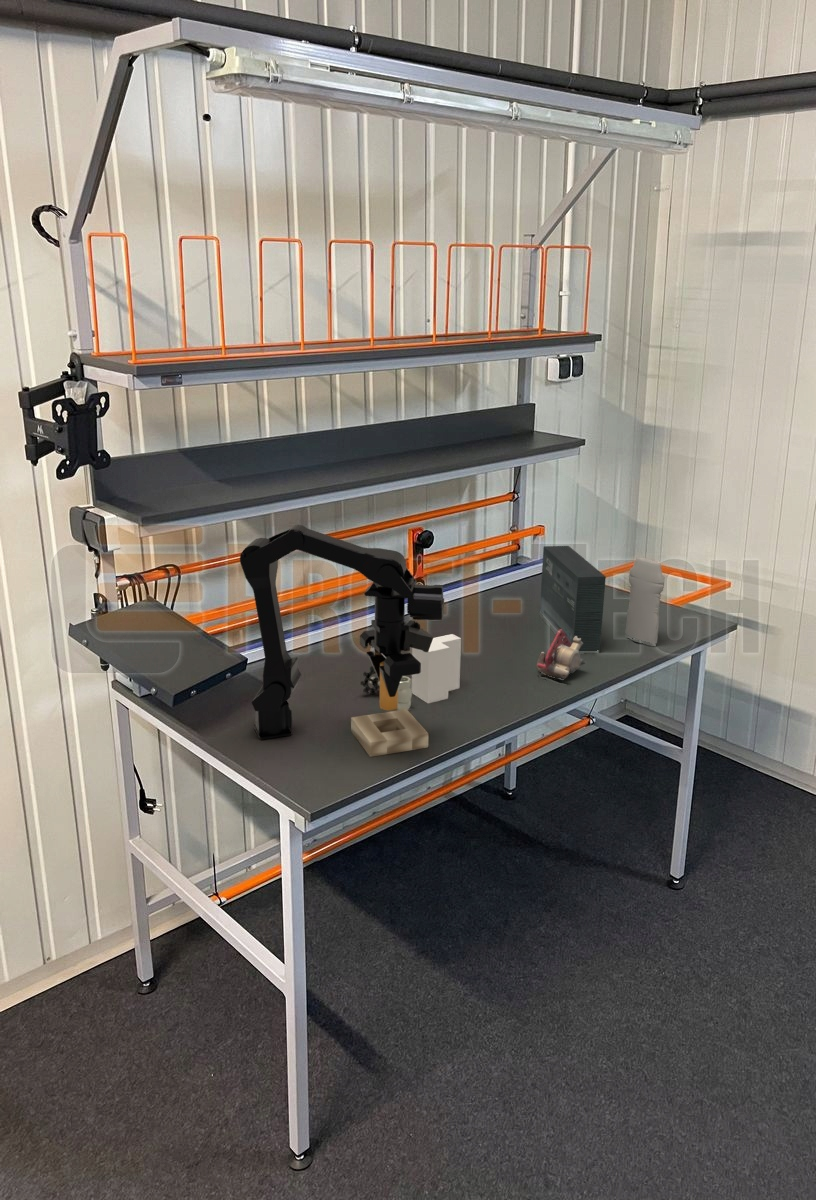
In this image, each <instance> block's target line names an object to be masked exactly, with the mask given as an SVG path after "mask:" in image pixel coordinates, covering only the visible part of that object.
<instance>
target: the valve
mask: <svg viewBox="0 0 816 1200" xmlns="http://www.w3.org/2000/svg"><path fill="white" fill-rule="evenodd" d="M374 674H375V675H376V673H375V670H374V668H373V666H372V665H371V666H370V667H369V672H368V671H364V672H363V674H362V676H363V677H365V678H364V680H361V681H360V686H362V687H363V694H366V695H368V694H371V695H373V696H374V695H376V694H377V691H378V690H380V682H379V680H378V677H377V676H372V675H374ZM369 684H371V685H372V686H369ZM412 697H413V693H412V678H410V677H409V676H407V675H406V676H402V678H401V681H400V684H399V686H398V708H397V709H396V711H397V710H404V709H407V710H408V711H409V710H410V708H411V705H412V704H411V703H412V700H411V699H412Z"/></svg>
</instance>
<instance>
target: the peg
mask: <svg viewBox="0 0 816 1200" xmlns="http://www.w3.org/2000/svg"><path fill="white" fill-rule="evenodd" d="M380 666H384V661H383V662H381V663H380ZM397 708H398V689H397V692H396V695H395V696H394V697H390V696H389V694H388V691H387V689H386V686H385V683H384V680H383V677H382V674H381V672H380V689H379V709H381V710H384V711H396V710H397Z"/></svg>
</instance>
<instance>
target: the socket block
mask: <svg viewBox="0 0 816 1200" xmlns="http://www.w3.org/2000/svg"><path fill="white" fill-rule="evenodd" d="M350 731H351V733H352V734H353V736H354V737H355V738H356V740H357V741H358V742H359V744H360V745H361V747H362V748H363V749H364V751H365V752H366V753H367V755H368V756H369V757H370V758H372V757H377V756H385V755H390V754H396V753H397V754H398V753H402V752H409V751H415V750H421V749H426V748H429V732H428V731H427V730H426V729H425V728H424V727H423V726H422V725H421V723H420V722H419V721H418V720H417V719H416V718H415V717H414V716H413V714H412V713H410V711H409V709H408V710H407V709H404V710H397V709H396V710H390V711H386V712H380V713H371V714H365V715H358V716H357V715H356V716H352V717H350Z"/></svg>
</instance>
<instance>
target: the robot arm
mask: <svg viewBox="0 0 816 1200" xmlns="http://www.w3.org/2000/svg"><path fill="white" fill-rule="evenodd" d="M295 551H301V552H304V553H306V554H309V555H312V556H315V557H318V558H321V559H323V560H326V561H329V562H331V563H332V562H333V563H335V564H338V565H342V566H344V567H347V568H350V569H353V570H354V571H356V572H358V573H359V574H361V575H362V576H364V577H365V578H366V579H368V580H369V581H371V582H372V584H370V585H369V586H367V588H366V589H365V592H364V596H365V597H374V619H372V620H371V625H370V626H372V627H373V628H374V629H372V630H371V629H370V630H363V631H362V633H361V634H360V635H359V645H360V646H361V648H363V649H364V650H365V649H367V648H368V646H369V647H370V649H369V650H370V651H366V656H367V657H368V659H369V661H370V664H371V666H373V668H374V670H375V676H376V677H377V678H378V680H379V682H380V672H381V674H382V677H383V680H384V683H385V686H386V689H387V691H388V694H389V696H390V697H394V696H395V695H396V692H397V689H398V686H399V684H400V681H401V678H402V676H406V677H407V676H412V675H413V674H419V673H420V672H421V663H420V662H419V661H418V660H417V659H416V658H415V657H414V656H413V655H412V652H411V653H410V652H409V651H411V649H412V648H415V649H419V650H423V652H428V651H429V648H430V646H431V643H432V640H433V638H434V636H432V634H430V633H429V631H427V630H426V629H425V630H424V629H423V628H421V624H420V623H419V622H418V621H431V622H432V621H436V622H443V621H444V620H443V619H444V612H445V598H444V589H443V588H444V585H443V584H431V585H430V584H429V585H428V584H417V580H416V578H415V577H414V576H413V574H412V573H411V571H410V570H409V569H408V566H407V564H408V563H407V560H406V558H405V556H404V554H402V553H401V552H400V551H396V550H394V549H393V550H391V549H387V548H380V547H379V548H377V547H364V546H363V547H362V546H360V545H356V544H353V543H351V542H348V541H345V540H342V539H339V538H336V537H334V536H331V535H328V534H325V533H322V532H319V531H316V530H313V529H310V528H307V527H306V526H304V525H302V524H295V525H293V526H292V527H290V528H289V529H287V530H284V531H281V532H279V533H277V534H275V535H273V536H271V537H269V538H267V537H257V538H255V539H254V540H252V542H251V541H250V543H249V544H248V545H247V546H246V547H245V548H244V549H243V551H242V552H240V556H239V563H240V566H241V568H242V571H243V575H244V578H245V580H246V581H247V583H248V584H249V586H250V587H251V589H252V591H253V596H254V601H255V607H256V613H257V619H258V625H259V631H260V636H261V637H260V638H261V642H262V649H263V655H264V662H263V663H264V664H263V673H262V686H261V687H260V689H259V690H258V692H257V693H256V694H255V696H254V698H253V699H252V701H251V705H252V707H253V709H254V712H255V713H254V714H255V718H254V719H255V724H253V729H254V730H255V733H256V735H257V736H258V738H259V739H260V740H267V739H274V738H275V739H276V738H280V737H289V736H291V735H293V734H292V733H293V732H292V730H291V729H292V728H293V716H292V715H293V713H292V712H293V711H292V709H291V707H290V704H289V702H288V700H289V699H290V698H291V696H292V694H293V692H294V691H295V689H296V687H297V685H298V683H299V681H300V679H301V676H302V673H301V671H300V669H299V668H300V667H299V658H298V657H293V658H292V657H291V655H290V654H289V652H288V650H287V646H286V639H285V633H284V632H285V631H284V627H283V621H282V615H281V614H282V613H281V609H280V602H279V595H278V591H277V590H278V589H277V584H276V583H277V576H278V575H277V574H278V570H279V569H278V568H279V560H280V559H282V558H284V557H286V556H287V555H289V554H291V553H293V552H295ZM406 599H407V602H406ZM405 602H406V603H407V604H406V603H405ZM405 605H407V606H405ZM405 607H406V610H407V611H405ZM405 612H406V613H407V615H409V618H412V619H410V620H409V621H408V622H405ZM416 620H417V621H416ZM402 652H408V653H402ZM383 661H384V666H380V663H381V662H383Z"/></svg>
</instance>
